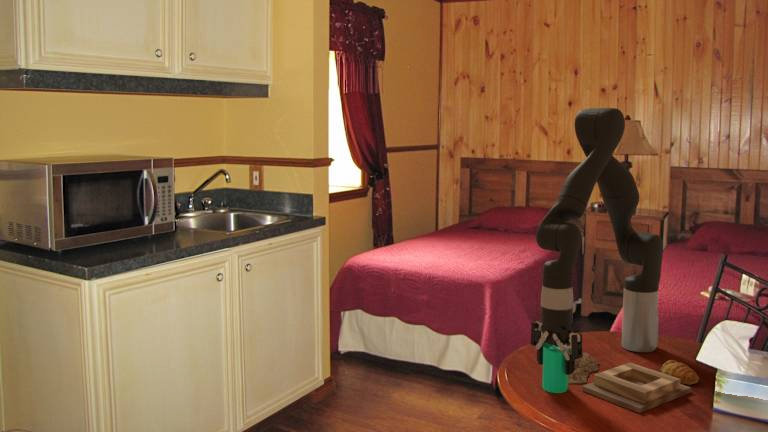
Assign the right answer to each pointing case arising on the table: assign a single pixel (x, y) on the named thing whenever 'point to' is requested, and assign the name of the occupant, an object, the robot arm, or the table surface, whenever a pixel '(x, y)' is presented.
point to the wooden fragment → (583, 369)
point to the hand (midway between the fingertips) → (555, 368)
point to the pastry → (680, 372)
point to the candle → (554, 370)
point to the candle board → (630, 401)
